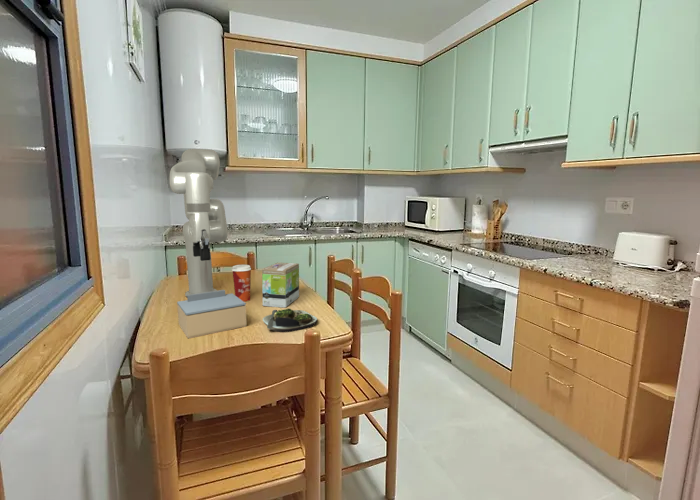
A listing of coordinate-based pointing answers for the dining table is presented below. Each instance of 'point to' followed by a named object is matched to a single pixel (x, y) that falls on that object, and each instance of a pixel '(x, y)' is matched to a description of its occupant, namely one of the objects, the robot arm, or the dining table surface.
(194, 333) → the box
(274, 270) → the tea box
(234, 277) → the paper cup
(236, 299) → the lid
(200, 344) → the dining table surface
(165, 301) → the dining table surface
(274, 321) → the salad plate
